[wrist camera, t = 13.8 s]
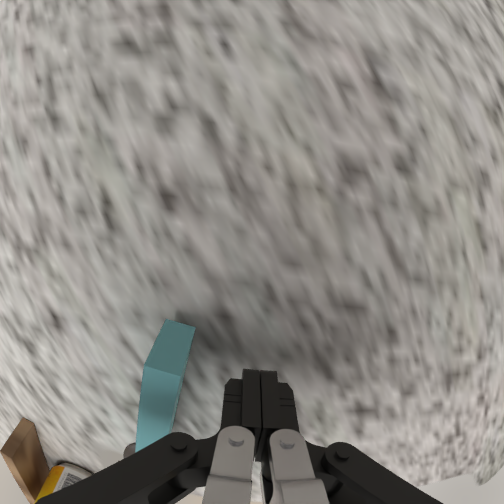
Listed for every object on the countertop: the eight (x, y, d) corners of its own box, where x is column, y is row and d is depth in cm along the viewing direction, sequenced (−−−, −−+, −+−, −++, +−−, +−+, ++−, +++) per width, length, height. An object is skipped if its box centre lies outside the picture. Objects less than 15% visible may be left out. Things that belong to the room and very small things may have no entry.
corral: (14, 384, 17) (-15, 419, 13) (193, 454, 19) (185, 505, 14) (45, 479, 22) (32, 507, 18) (170, 525, 23) (164, 557, 19)
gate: (211, 324, 15) (197, 392, 10) (170, 480, 19) (160, 529, 14) (155, 308, 14) (120, 369, 10) (135, 470, 19) (121, 518, 14)
